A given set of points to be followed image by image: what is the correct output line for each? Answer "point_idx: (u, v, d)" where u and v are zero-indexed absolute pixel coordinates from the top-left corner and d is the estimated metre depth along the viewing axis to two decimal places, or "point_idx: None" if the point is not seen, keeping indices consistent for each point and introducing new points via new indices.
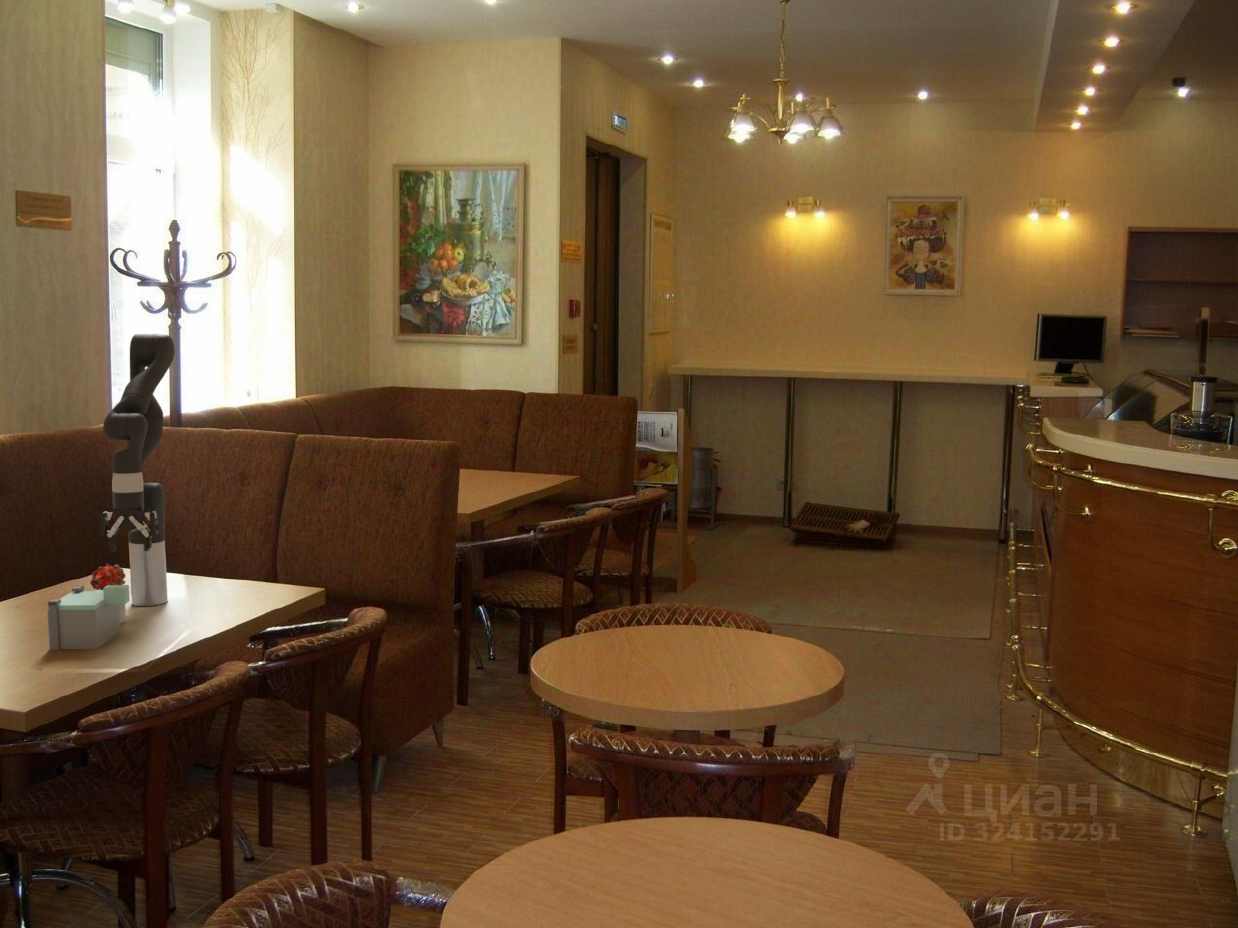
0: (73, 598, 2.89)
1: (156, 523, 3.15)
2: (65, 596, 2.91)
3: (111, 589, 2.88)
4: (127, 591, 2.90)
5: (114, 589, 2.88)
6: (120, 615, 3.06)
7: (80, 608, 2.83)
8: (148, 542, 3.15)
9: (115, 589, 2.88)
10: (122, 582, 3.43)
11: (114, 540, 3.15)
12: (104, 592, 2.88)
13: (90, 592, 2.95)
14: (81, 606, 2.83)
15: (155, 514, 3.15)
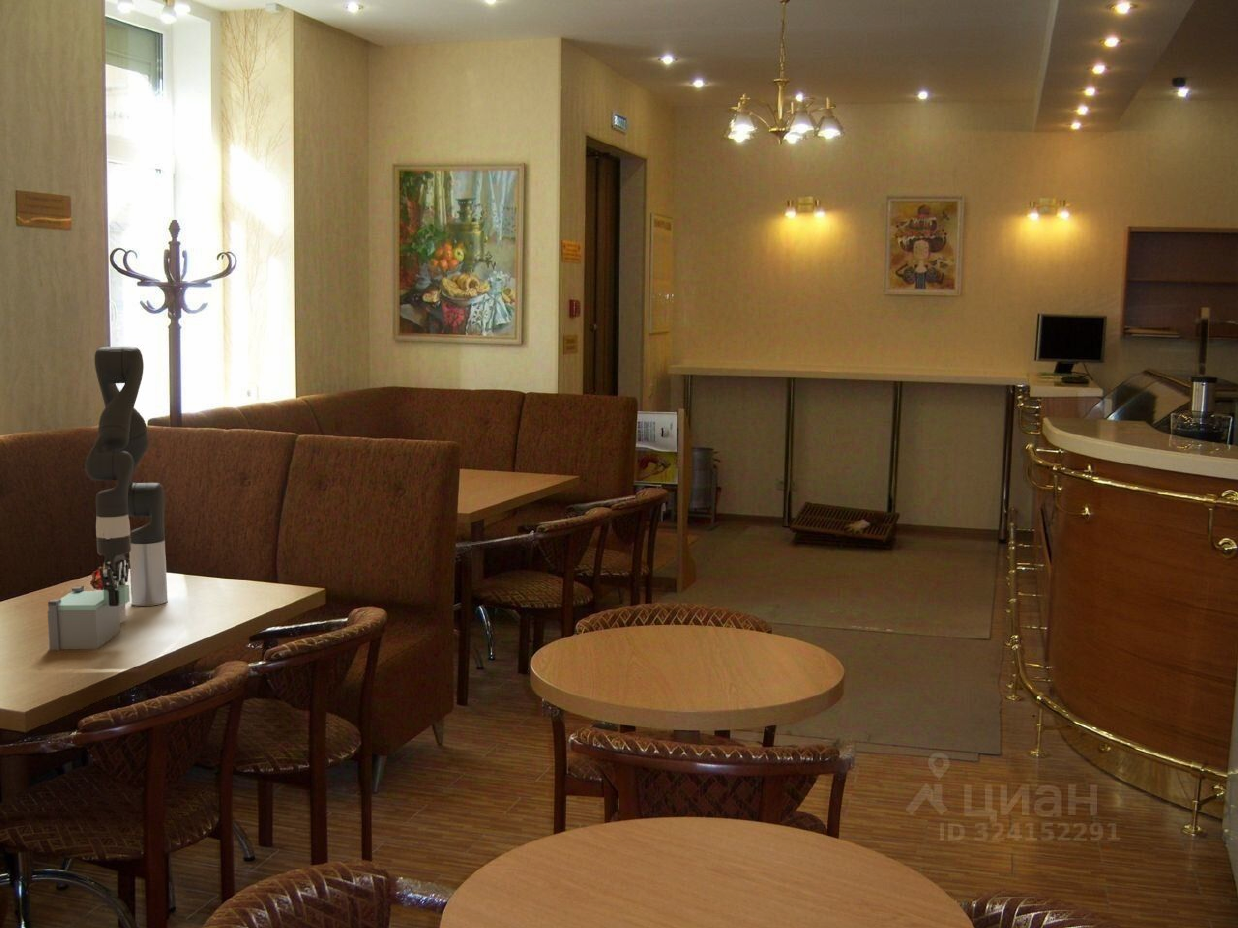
0: (73, 598, 2.89)
1: None
2: (65, 596, 2.91)
3: None
4: (127, 591, 2.90)
5: None
6: (120, 615, 3.06)
7: (80, 608, 2.83)
8: None
9: None
10: None
11: None
12: (104, 592, 2.88)
13: (90, 592, 2.95)
14: (81, 606, 2.83)
15: None
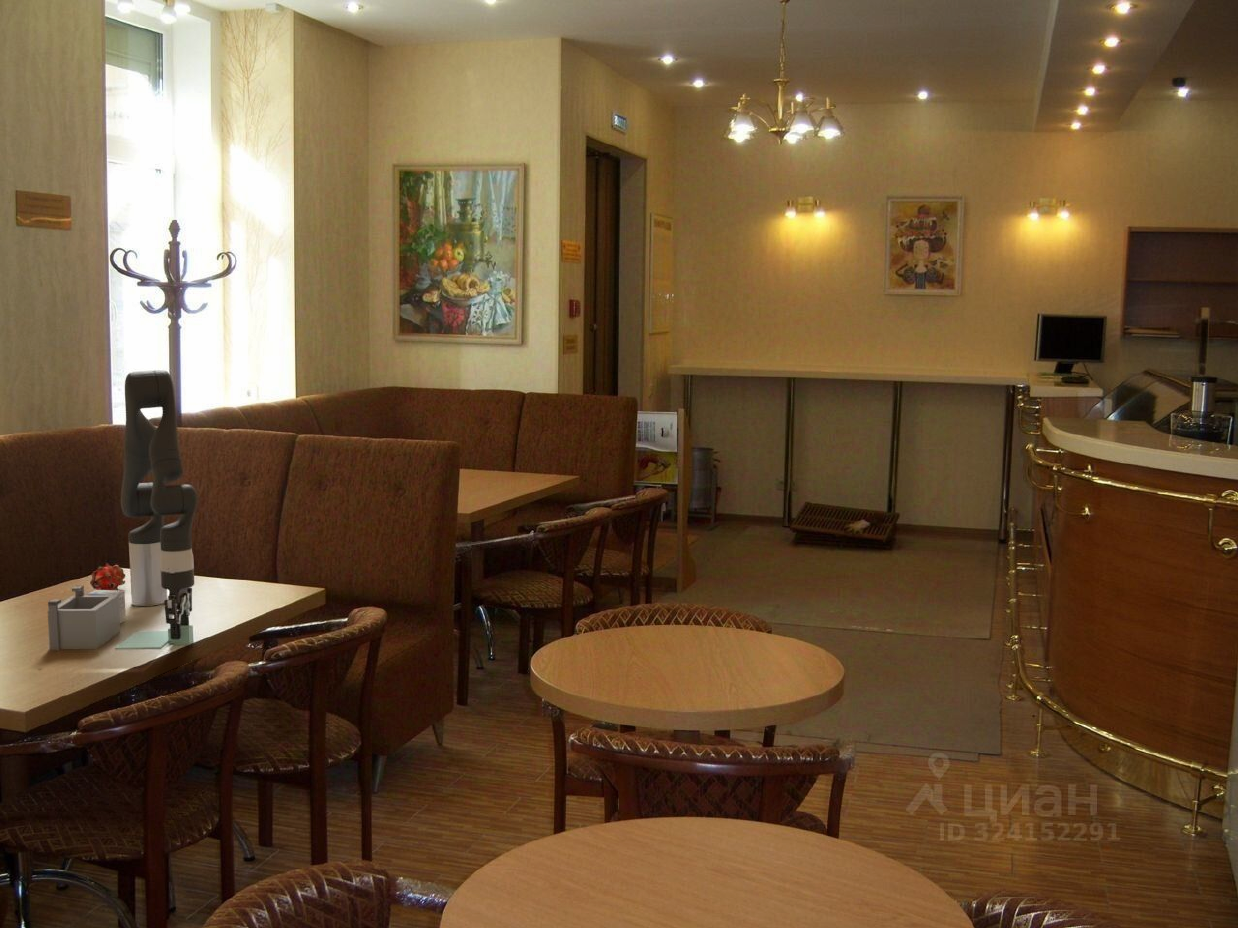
0: (138, 639, 2.91)
1: None
2: (130, 637, 2.92)
3: None
4: (191, 632, 2.92)
5: None
6: (120, 615, 3.06)
7: None
8: None
9: None
10: (122, 582, 3.43)
11: None
12: (169, 633, 2.90)
13: (154, 632, 2.97)
14: (147, 648, 2.84)
15: None
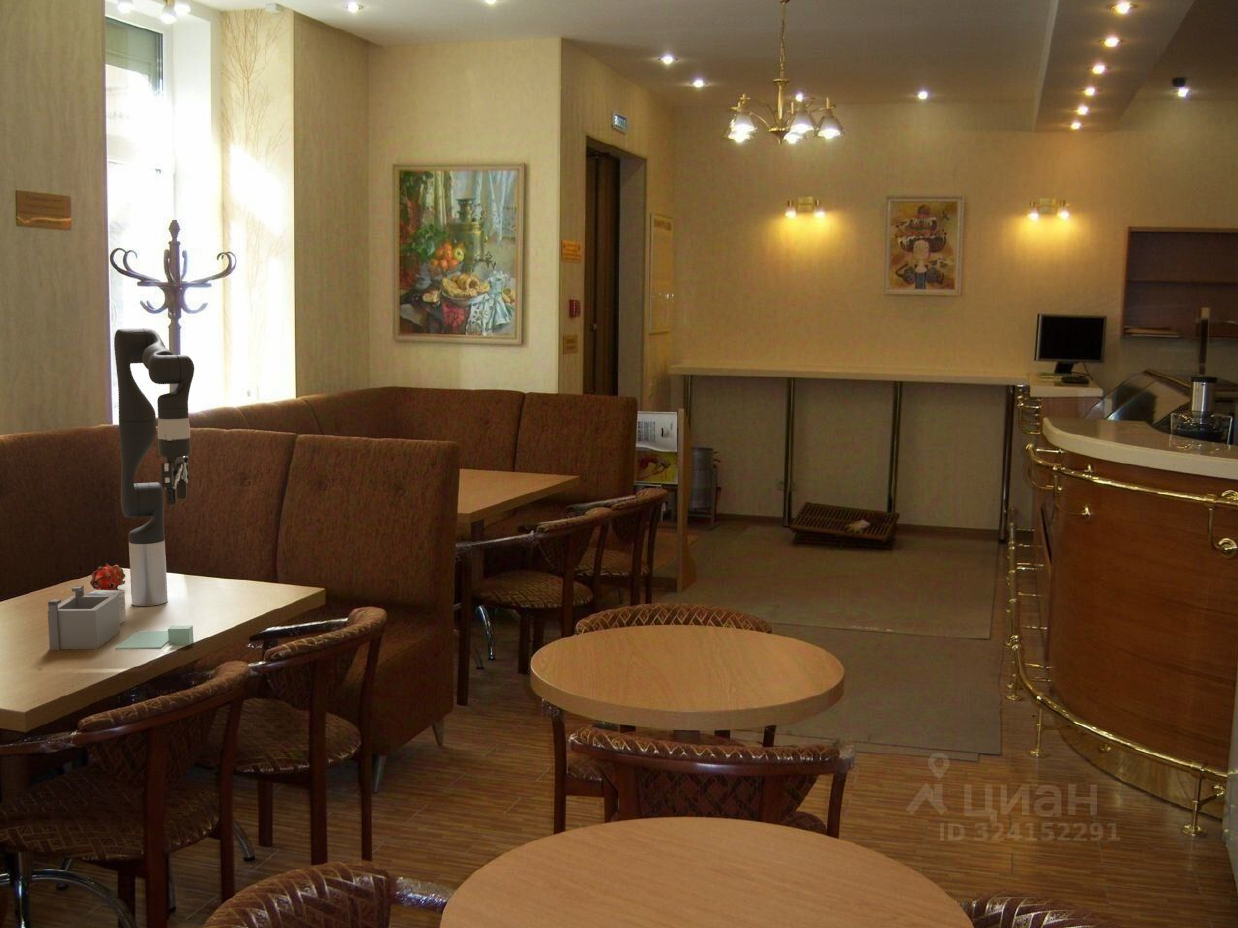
0: (138, 639, 2.91)
1: None
2: (130, 637, 2.92)
3: (176, 630, 2.89)
4: (191, 632, 2.92)
5: (179, 630, 2.90)
6: (120, 615, 3.06)
7: None
8: None
9: (180, 630, 2.90)
10: (122, 582, 3.43)
11: None
12: (169, 633, 2.90)
13: (154, 632, 2.97)
14: (147, 648, 2.84)
15: None
